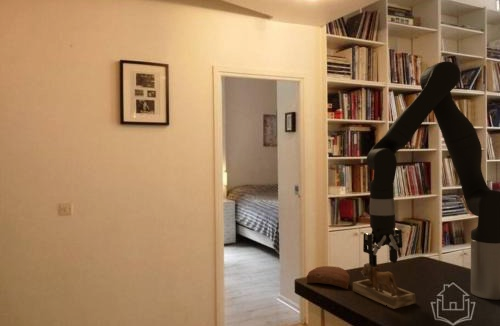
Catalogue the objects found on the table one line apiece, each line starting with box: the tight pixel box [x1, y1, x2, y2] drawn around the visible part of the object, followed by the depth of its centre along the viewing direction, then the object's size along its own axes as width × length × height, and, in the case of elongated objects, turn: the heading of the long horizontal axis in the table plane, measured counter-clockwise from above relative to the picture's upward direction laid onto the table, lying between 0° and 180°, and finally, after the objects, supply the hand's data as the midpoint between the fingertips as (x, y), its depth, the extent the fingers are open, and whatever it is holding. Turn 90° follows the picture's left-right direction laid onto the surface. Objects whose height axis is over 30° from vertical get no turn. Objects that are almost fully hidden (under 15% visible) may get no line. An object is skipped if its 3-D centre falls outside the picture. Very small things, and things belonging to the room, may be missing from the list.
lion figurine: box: [360, 262, 404, 296], centre depth 120 cm, size 15×5×9 cm, turn 30°
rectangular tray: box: [352, 278, 416, 310], centre depth 121 cm, size 9×17×3 cm, turn 27°
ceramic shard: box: [305, 265, 351, 290], centre depth 138 cm, size 15×6×15 cm
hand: (383, 264), depth 121 cm, fingers open, 8 cm apart
